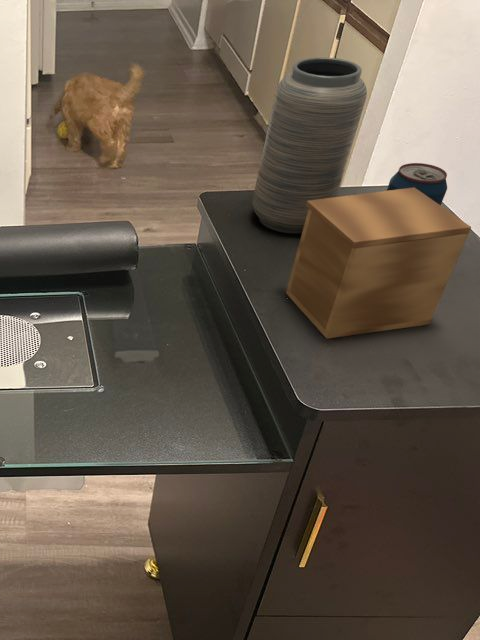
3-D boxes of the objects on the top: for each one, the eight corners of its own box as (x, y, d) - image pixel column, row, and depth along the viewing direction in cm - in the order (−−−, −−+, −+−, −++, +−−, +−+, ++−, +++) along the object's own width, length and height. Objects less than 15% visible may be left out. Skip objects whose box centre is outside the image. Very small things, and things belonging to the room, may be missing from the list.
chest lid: (352, 248, 82) (354, 242, 81) (305, 206, 90) (307, 200, 89) (469, 233, 83) (471, 226, 82) (412, 192, 91) (414, 187, 90)
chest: (326, 338, 90) (356, 248, 82) (285, 293, 98) (309, 206, 90) (429, 324, 91) (469, 233, 83) (380, 280, 99) (412, 193, 91)
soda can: (356, 245, 106) (382, 167, 98) (393, 234, 108) (421, 157, 100) (393, 267, 101) (424, 187, 93) (432, 255, 103) (464, 176, 95)
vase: (255, 238, 109) (290, 81, 94) (243, 202, 118) (274, 54, 103) (336, 239, 108) (385, 80, 93) (318, 203, 116) (361, 53, 102)
